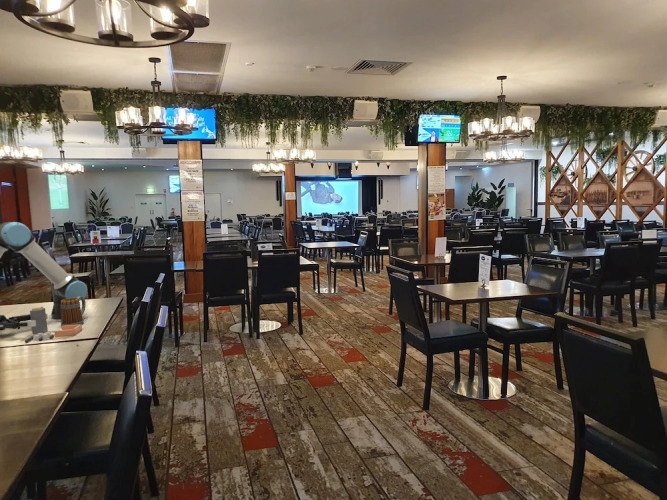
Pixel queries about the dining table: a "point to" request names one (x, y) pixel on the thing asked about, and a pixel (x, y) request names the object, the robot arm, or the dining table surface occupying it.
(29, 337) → the board
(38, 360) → the dining table surface
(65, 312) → the mug
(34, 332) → the grey tall block
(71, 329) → the end holder
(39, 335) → the cable clips
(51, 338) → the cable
